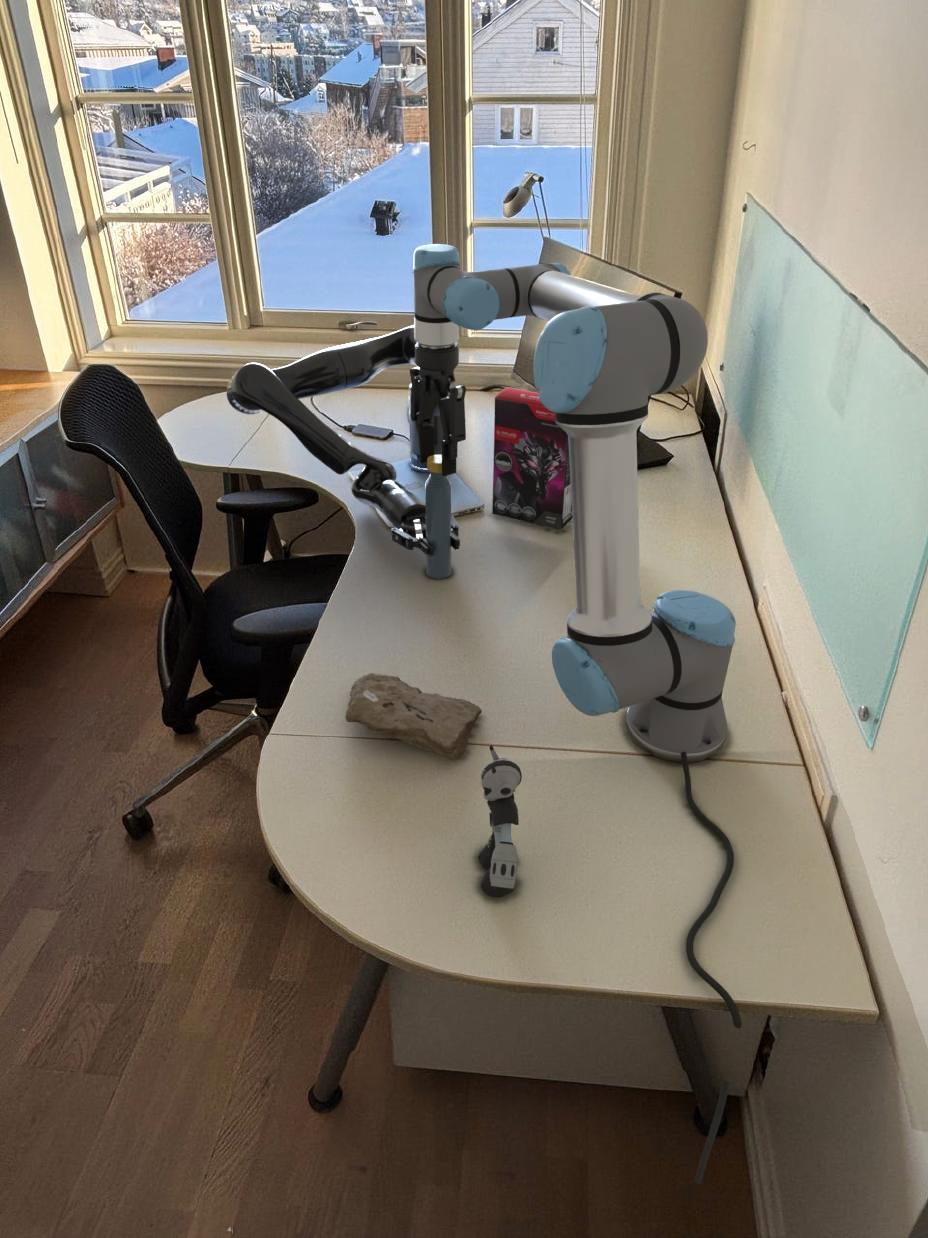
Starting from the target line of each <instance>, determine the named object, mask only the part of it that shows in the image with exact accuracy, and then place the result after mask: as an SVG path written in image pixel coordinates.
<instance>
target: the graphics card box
mask: <svg viewBox="0 0 928 1238" xmlns="http://www.w3.org/2000/svg"><path fill="white" fill-rule="evenodd" d="M493 429H494V430H493V470H492V471H493V472H492V507H491V508H492V509H491V512H492V513H491V514H492V515H495V516H499V517H504V518H508V519H513V520H516V521H521V522H524V523H529V524H534V525H536V526H540V527H545V528H549V529H553V530H558V531H562V530H563V529H564V528H565V527H566V526H567V525H568V524H569V523H570V522H571V521H573V519H572V500H571V480H570V461H569V441H568V434H567V433H566V432H565V431H564V430H563V429H562V428H561V427H560V426H559V425H557V424H556V421H555V412H552V411H550V410H548V409H547V408H546V407H545V406H544V405H543V404H542V402H541V400H540V399H539V391H538V392H537V391H532V390H528V389H521V388H517V387H512V386H507V387H505V388H503V389H502V390H500V392H498V393H497V394H496V396H494V427H493Z"/></svg>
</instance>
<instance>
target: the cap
mask: <svg viewBox="0 0 928 1238" xmlns="http://www.w3.org/2000/svg"><path fill="white" fill-rule="evenodd" d="M427 469H428V470H429V471H430V472H434V473H442V455H432V456H429V457H428V458H427Z"/></svg>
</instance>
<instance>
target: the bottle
mask: <svg viewBox="0 0 928 1238" xmlns="http://www.w3.org/2000/svg"><path fill="white" fill-rule="evenodd" d="M424 490H425V491H424V499H425V500H424V502H425V503H424V504H425V510H426V540H427V541H428V542H430V543H431V544H432V545H433V547H434V556H431V557H430V556H429V555H426V554H425V559H426V561H425V563H426V575H427V576H428V577H430V578H433V579H445V578H448V577H450V575H451V574H452V546H451V514H452V484H451V481H450V479H449V477H448V476H445V477H444V476H442V473H434V472H431V473H429V475H428V477H427V479H426V481H425V484H424Z"/></svg>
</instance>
